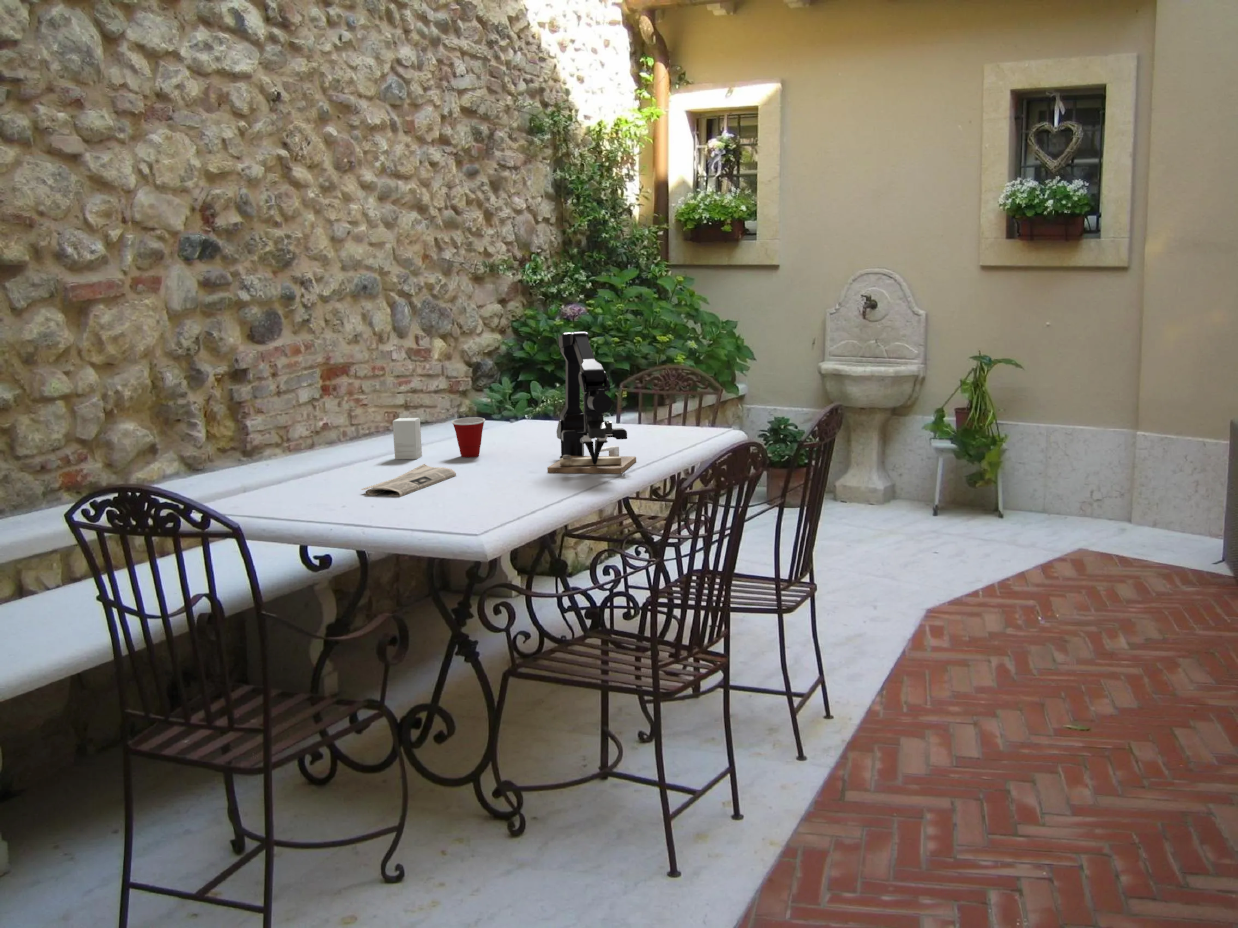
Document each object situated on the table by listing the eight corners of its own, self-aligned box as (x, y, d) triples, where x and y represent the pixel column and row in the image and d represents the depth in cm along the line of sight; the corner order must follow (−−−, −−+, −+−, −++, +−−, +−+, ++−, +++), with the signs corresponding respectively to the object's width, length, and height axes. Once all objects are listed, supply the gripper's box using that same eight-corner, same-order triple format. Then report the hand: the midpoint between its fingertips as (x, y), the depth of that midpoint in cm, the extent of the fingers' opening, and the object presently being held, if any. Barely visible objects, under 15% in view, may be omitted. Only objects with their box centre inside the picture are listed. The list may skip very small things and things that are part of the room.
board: (547, 472, 345) (547, 467, 345) (566, 460, 367) (566, 455, 367) (621, 473, 340) (621, 468, 340) (636, 461, 363) (636, 456, 362)
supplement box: (422, 456, 383) (420, 417, 381) (416, 459, 375) (414, 420, 373) (400, 456, 383) (398, 417, 381) (394, 459, 376) (392, 420, 374)
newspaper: (400, 498, 310) (399, 485, 310) (358, 496, 314) (357, 483, 314) (458, 476, 344) (457, 464, 343) (419, 475, 347) (419, 463, 347)
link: (560, 466, 345) (559, 456, 344) (560, 463, 349) (559, 454, 348) (621, 464, 346) (621, 454, 345) (620, 462, 350) (620, 452, 349)
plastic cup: (447, 458, 377) (445, 421, 375) (461, 453, 387) (459, 417, 385) (478, 459, 374) (477, 421, 372) (491, 454, 384) (490, 417, 382)
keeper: (601, 460, 356) (601, 449, 355) (596, 459, 357) (596, 448, 357) (619, 457, 361) (618, 446, 360) (613, 456, 363) (613, 445, 362)
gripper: (564, 414, 333) (566, 468, 335) (629, 412, 336) (630, 466, 338) (560, 411, 344) (561, 464, 346) (623, 409, 347) (624, 461, 349)
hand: (594, 464), depth 345 cm, fingers closed
